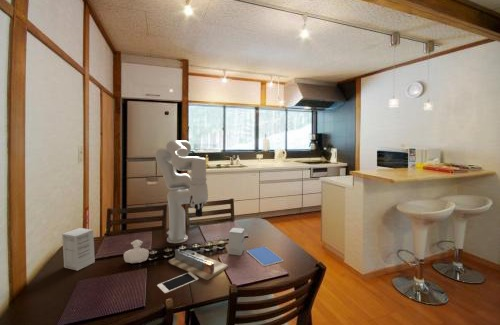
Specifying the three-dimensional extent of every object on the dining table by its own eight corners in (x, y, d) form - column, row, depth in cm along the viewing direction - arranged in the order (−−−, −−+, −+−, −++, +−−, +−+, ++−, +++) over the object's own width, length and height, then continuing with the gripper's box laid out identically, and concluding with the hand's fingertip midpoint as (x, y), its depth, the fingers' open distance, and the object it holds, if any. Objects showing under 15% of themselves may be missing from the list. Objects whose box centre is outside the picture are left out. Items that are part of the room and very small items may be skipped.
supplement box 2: (241, 255, 137) (241, 233, 136) (228, 254, 138) (228, 231, 137) (244, 250, 144) (244, 228, 143) (231, 248, 146) (232, 227, 144)
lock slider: (183, 258, 130) (183, 251, 130) (187, 256, 132) (187, 249, 132) (190, 261, 127) (190, 254, 127) (194, 258, 129) (194, 252, 129)
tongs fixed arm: (174, 258, 130) (173, 250, 129) (178, 257, 132) (177, 248, 131) (210, 274, 115) (210, 264, 115) (214, 272, 117) (214, 262, 117)
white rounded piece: (149, 263, 132) (150, 241, 137) (147, 260, 125) (149, 237, 131) (124, 265, 129) (126, 243, 134) (121, 262, 122) (123, 239, 128)
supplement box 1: (95, 262, 127) (94, 229, 126) (77, 271, 119) (76, 236, 117) (81, 259, 130) (80, 227, 129) (63, 267, 122) (61, 233, 120)
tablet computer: (284, 262, 132) (284, 260, 131) (263, 267, 126) (263, 265, 125) (264, 248, 148) (264, 245, 148) (245, 252, 142) (245, 250, 142)
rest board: (168, 262, 128) (168, 260, 128) (189, 252, 139) (189, 250, 139) (207, 280, 113) (207, 277, 113) (227, 267, 124) (227, 265, 124)
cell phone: (156, 286, 108) (156, 284, 108) (190, 273, 119) (190, 271, 119) (164, 294, 103) (164, 293, 103) (199, 279, 114) (199, 278, 114)
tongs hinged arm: (180, 259, 129) (180, 251, 129) (182, 258, 130) (182, 250, 130) (212, 272, 117) (212, 264, 116) (214, 271, 117) (214, 263, 117)
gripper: (203, 178, 140) (203, 211, 142) (182, 182, 128) (182, 218, 129) (214, 180, 136) (213, 213, 137) (192, 184, 124) (193, 221, 125)
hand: (198, 215), depth 133 cm, fingers closed
